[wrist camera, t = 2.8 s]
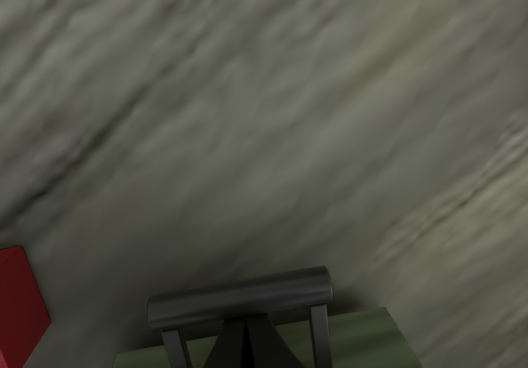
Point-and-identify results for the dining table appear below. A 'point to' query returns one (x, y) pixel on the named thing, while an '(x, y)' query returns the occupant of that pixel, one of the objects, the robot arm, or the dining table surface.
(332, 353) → the drawer
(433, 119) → the dining table surface
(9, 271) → the chocolate bar
